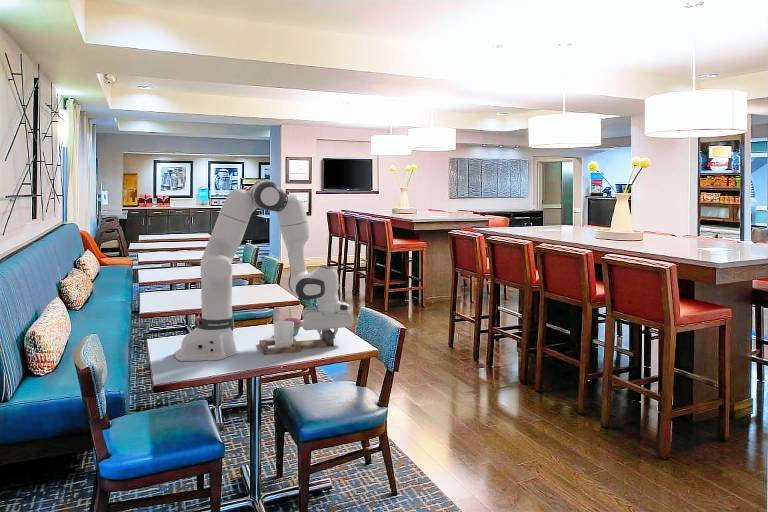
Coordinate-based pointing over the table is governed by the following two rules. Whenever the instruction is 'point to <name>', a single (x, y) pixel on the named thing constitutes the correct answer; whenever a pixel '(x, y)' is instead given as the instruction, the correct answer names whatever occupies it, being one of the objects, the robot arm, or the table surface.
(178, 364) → the table surface
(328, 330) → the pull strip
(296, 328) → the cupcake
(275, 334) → the white cup
